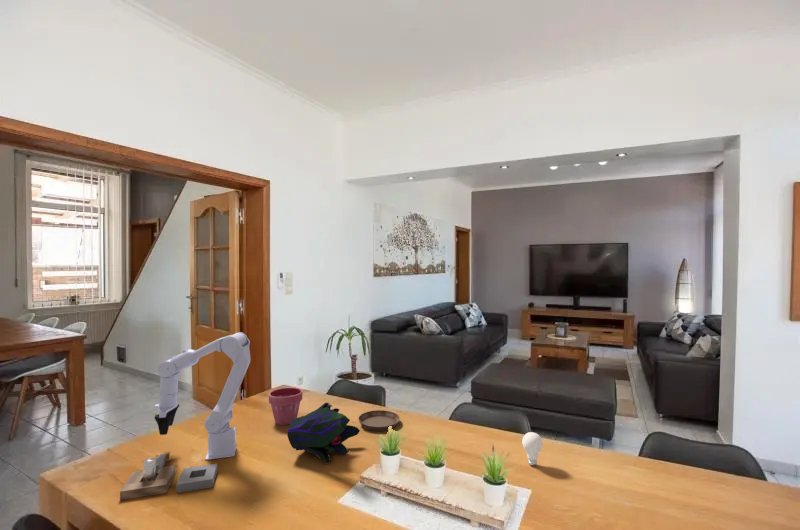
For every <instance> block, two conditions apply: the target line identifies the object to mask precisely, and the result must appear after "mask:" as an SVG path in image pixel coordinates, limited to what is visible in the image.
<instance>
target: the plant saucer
mask: <svg viewBox="0 0 800 530" xmlns="http://www.w3.org/2000/svg"><path fill="white" fill-rule="evenodd" d="M400 418H401V417H400V416H399V415H398V414H397V413H395V412H392V411H390V410H389V411H388V410H381V409H379V410H376V409H375V410H370V411H365V412H363V413H362V414H360V415H359V416H358V418H357V419H358V422H359V423H360V425H361V426H362V427H363V428H365V430H368V431H374V432H383V431H388V430H387V429H388V427H389V426H392V427H393V428H394V427H396V425H397V424H398V423H399V422H400Z"/></svg>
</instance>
